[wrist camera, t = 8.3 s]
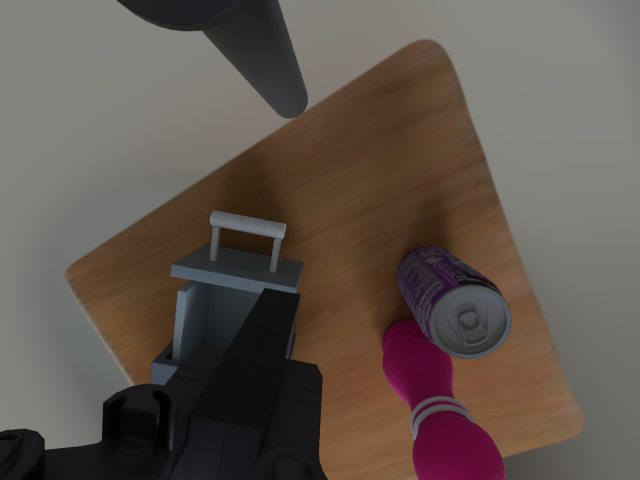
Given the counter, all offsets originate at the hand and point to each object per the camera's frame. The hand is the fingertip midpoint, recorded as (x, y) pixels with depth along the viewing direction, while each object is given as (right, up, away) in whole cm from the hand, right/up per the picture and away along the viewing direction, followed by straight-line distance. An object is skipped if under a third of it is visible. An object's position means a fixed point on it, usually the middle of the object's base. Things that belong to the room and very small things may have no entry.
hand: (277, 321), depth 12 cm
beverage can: (+14, -1, +23) cm, 27 cm away
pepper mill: (+13, -9, +25) cm, 29 cm away
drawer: (-6, -2, +23) cm, 24 cm away
